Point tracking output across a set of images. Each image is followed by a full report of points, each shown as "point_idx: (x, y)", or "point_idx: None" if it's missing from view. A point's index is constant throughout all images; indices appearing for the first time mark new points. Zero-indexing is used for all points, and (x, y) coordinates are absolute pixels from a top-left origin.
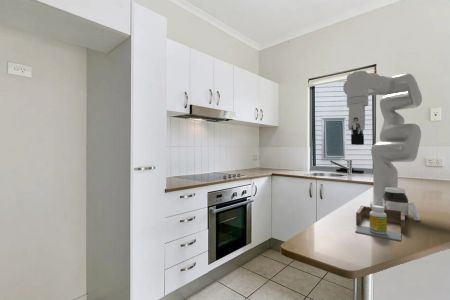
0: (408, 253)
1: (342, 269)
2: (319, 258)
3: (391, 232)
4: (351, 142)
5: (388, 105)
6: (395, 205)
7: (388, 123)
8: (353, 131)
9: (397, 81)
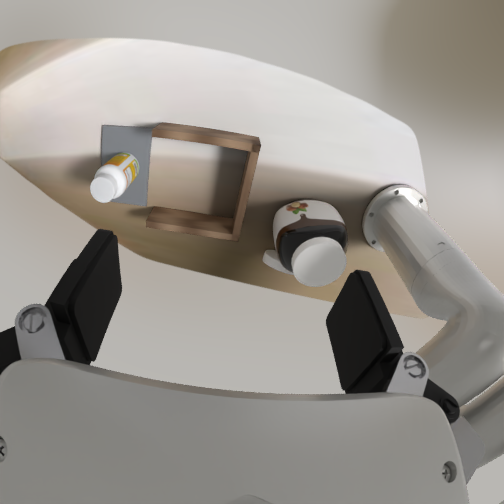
0: (60, 202)
1: None
2: None
3: (136, 190)
4: (91, 239)
5: None
6: (275, 234)
7: None
8: (6, 336)
9: None
